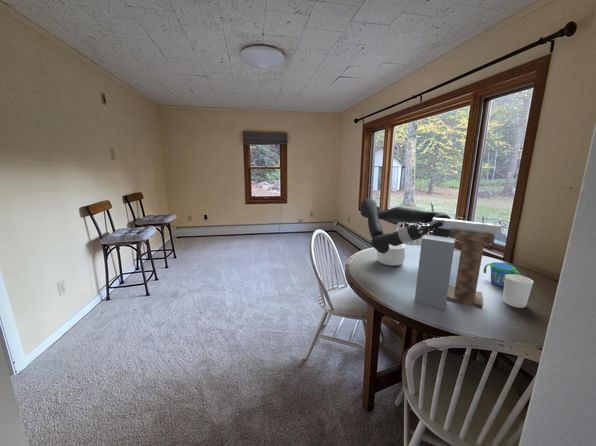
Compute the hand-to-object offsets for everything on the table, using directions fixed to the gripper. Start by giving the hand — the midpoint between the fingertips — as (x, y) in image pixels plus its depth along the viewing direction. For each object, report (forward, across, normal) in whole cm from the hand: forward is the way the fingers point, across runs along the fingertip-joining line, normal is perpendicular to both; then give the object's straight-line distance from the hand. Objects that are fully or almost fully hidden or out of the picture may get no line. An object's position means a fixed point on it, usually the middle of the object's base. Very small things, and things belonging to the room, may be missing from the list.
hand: (443, 221), depth 123 cm
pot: (-42, +25, +16) cm, 52 cm away
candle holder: (+10, +7, +46) cm, 48 cm away
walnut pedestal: (-7, 0, +36) cm, 37 cm away
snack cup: (+6, +28, +44) cm, 53 cm away
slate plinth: (-17, -14, +30) cm, 38 cm away
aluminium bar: (+6, 0, +7) cm, 9 cm away
